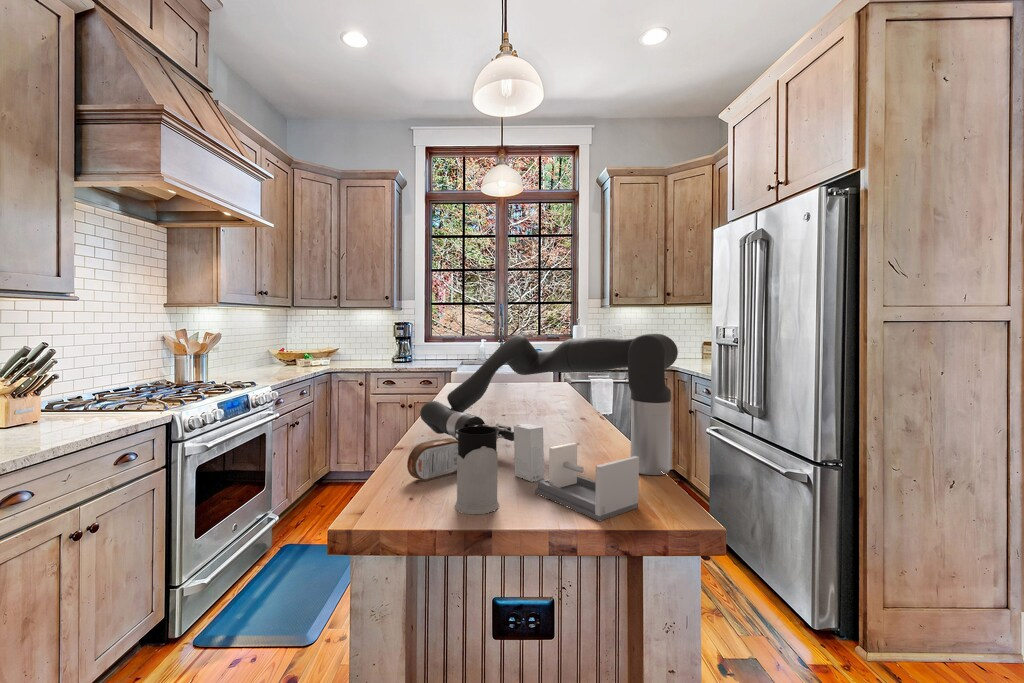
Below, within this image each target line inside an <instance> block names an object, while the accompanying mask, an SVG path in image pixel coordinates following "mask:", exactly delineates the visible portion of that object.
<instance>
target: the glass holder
mask: <svg viewBox="0 0 1024 683" xmlns="http://www.w3.org/2000/svg"><path fill="white" fill-rule="evenodd" d="M497 440H498V439H497V430H496V429H495V428H492V427H486V426H471V427H464V428H461V429H459V430H458V455H457V472H456V502H455V504H454V509H455V511H457V512H458V511H460V512H459V513H461V512H462V513H461V514H464V513H465V514H464V515H469V514H483V515H485V514H484V513H488V514H490V513H489V512H492V511H494V510H496V509H497V508H498V507H499V508H500V503H499V501H498V451H497V448H498V447H497V446H498V445H497ZM499 508H498V509H499ZM498 509H497V510H498ZM497 510H496V511H497ZM494 512H495V511H494ZM492 513H493V512H492Z"/></svg>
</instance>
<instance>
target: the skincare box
mask: <svg viewBox="0 0 1024 683" xmlns="http://www.w3.org/2000/svg"><path fill="white" fill-rule="evenodd" d="M513 432H514V441H513V447H514V451H513V452H514V476H516V477H517V478H520V479H522V478H523V479H522V480H525V481H528V482H530V483H532V482H533V481H534V482H537V481H540V480H544V479H545V465H544V464H545V463H544V462H545V458H544V455H545V454H544V449H545V448H544V427H543V426H540V425H535V424H532V423H531V424H530V423H527V422H526V423H520V424H515V425H513Z"/></svg>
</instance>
